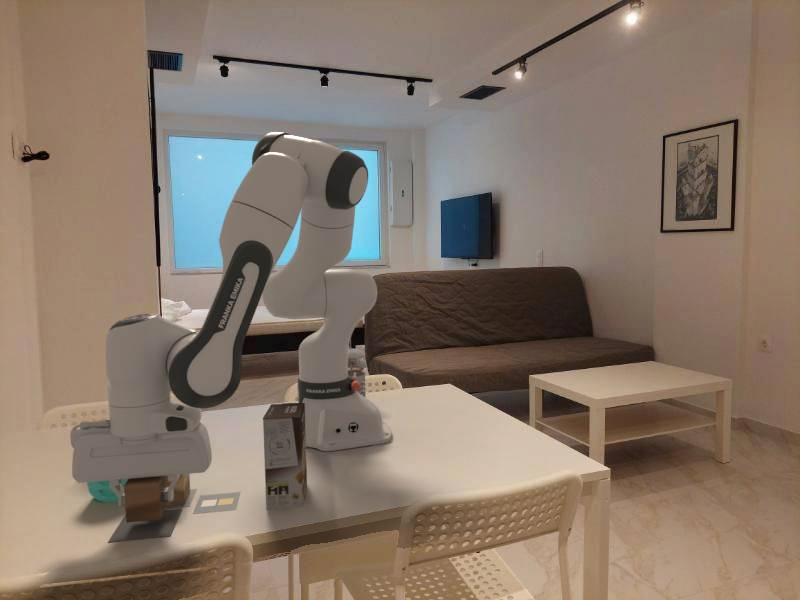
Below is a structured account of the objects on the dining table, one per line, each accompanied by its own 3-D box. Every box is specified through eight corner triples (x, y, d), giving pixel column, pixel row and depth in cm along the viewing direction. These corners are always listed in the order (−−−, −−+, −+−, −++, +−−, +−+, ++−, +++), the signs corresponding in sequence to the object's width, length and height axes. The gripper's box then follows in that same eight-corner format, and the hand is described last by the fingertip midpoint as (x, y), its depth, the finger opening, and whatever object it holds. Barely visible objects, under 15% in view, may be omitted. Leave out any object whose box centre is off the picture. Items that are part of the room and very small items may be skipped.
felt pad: (182, 511, 96) (182, 508, 96) (170, 538, 87) (170, 535, 87) (125, 516, 94) (125, 514, 94) (108, 544, 85) (107, 541, 85)
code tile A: (240, 493, 102) (240, 491, 102) (236, 511, 95) (236, 509, 95) (200, 497, 101) (199, 495, 101) (192, 515, 94) (192, 513, 94)
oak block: (190, 491, 103) (188, 459, 102) (184, 504, 98) (182, 470, 97) (161, 494, 102) (159, 461, 101) (154, 506, 97) (152, 473, 96)
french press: (330, 406, 156) (327, 316, 154) (341, 395, 168) (339, 311, 165) (364, 407, 155) (363, 317, 152) (373, 396, 166) (372, 311, 163)
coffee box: (303, 509, 96) (300, 417, 94) (265, 511, 95) (261, 418, 94) (307, 485, 105) (305, 401, 103) (273, 487, 105) (269, 403, 103)
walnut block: (160, 519, 88) (158, 482, 88) (126, 522, 88) (123, 485, 87) (167, 504, 93) (165, 469, 93) (135, 507, 93) (133, 472, 92)
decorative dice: (150, 483, 107) (148, 442, 107) (136, 502, 100) (133, 458, 99) (106, 486, 106) (103, 444, 106) (88, 505, 99) (85, 461, 98)
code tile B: (197, 490, 104) (197, 488, 104) (189, 507, 97) (189, 506, 97) (156, 493, 103) (156, 492, 103) (146, 511, 96) (146, 509, 96)
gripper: (61, 429, 84) (68, 518, 85) (204, 419, 87) (209, 504, 89) (77, 416, 90) (83, 499, 91) (211, 407, 94) (215, 487, 95)
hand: (146, 502), depth 90 cm, fingers closed on walnut block, 5 cm apart
